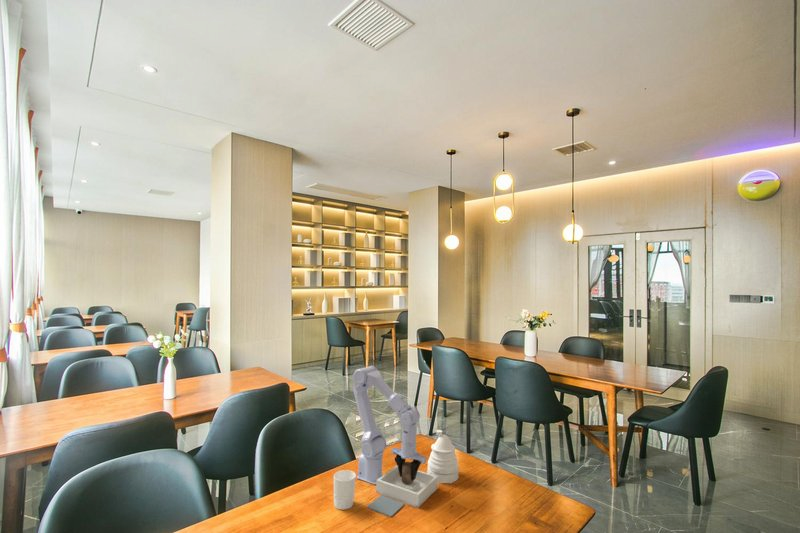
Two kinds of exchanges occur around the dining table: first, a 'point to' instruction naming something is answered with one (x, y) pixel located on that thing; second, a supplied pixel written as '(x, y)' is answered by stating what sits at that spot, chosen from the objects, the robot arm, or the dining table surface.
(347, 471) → the white cup
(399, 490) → the grey crate
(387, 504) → the slate pad
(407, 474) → the walnut cylinder
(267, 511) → the dining table surface
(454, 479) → the honey pot
